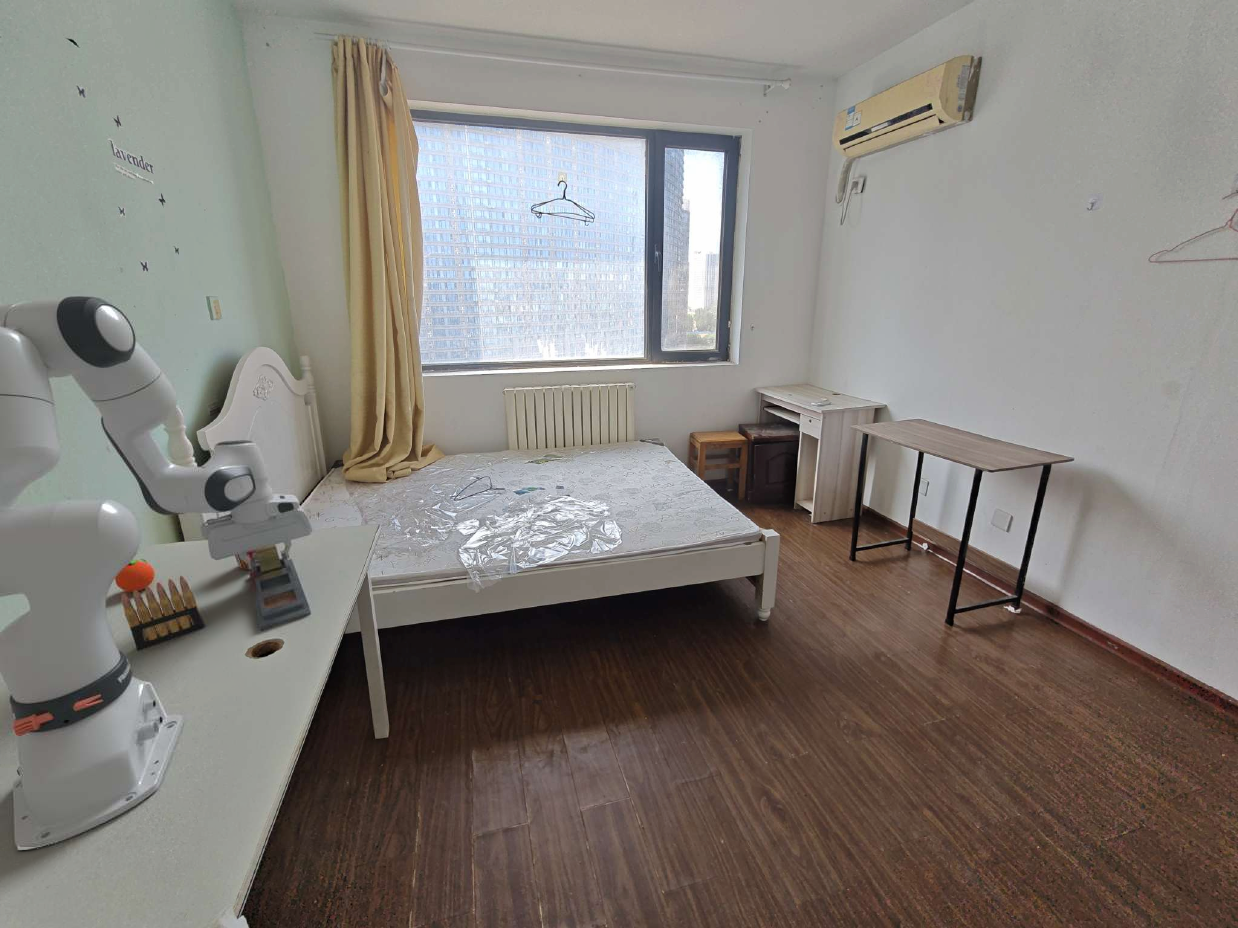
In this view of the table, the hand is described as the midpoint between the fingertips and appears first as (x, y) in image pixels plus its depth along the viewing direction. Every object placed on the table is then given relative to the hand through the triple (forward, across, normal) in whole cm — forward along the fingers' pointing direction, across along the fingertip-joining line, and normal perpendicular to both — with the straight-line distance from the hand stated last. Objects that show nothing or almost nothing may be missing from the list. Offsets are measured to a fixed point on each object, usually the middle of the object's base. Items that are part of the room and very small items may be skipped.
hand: (269, 562), depth 128 cm
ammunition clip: (+4, -19, -13) cm, 23 cm away
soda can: (+4, -3, +12) cm, 13 cm away
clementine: (+4, -26, +17) cm, 31 cm away
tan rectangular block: (+3, 0, 0) cm, 3 cm away
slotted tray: (+4, 0, -9) cm, 10 cm away
